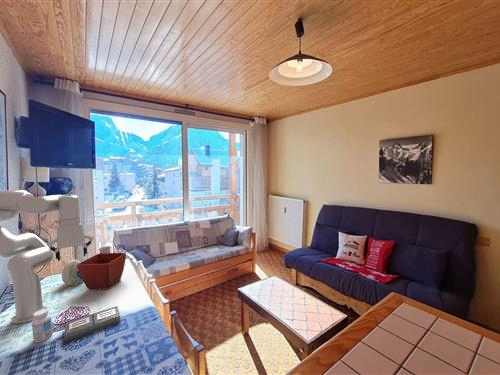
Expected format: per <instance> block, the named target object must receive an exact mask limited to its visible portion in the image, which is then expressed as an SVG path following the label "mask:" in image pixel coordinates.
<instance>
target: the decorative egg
mask: <svg viewBox="0 0 500 375" xmlns="http://www.w3.org/2000/svg"><path fill="white" fill-rule="evenodd" d="M81 262H82V261H80V260H79V259H71V260H69V261H67V262H66V264H65V265H64V266H63V268H62V272H61V280H62V283H63V284H64V285H65V286H68V285H72V286H76V285H75V284H77V285H79V284H81V283H83V280H82V278H81V276H80V273H79V270H78V267H77V264H79V263H81ZM80 282H81V283H80ZM78 283H79V284H78Z"/></svg>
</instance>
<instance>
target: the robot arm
mask: <svg viewBox="0 0 500 375" xmlns="http://www.w3.org/2000/svg"><path fill="white" fill-rule="evenodd" d="M21 212H22V213H25V214H38V215H41V214H46V213H52V212H58V218H59V219H58V220H55V225H56V224H57V225H58V226H57V229H56V238H55V239H53V240H51V241H49V242H48V243H45V242H44V241H43V240H42V239H41V238H40V237H39V236H38V235H36V234H35V233H31V232H23V233H19V234H12V232H10V231H9V230H8V229H7V228H5V227H3V226H2V225H0V257H3V258H10V257H11V258H10V259H9V260H8V262H7V270H8V271H9V275H10V277H11V283H12V290H13V298H14V299H13V300H14V309H15V315H14V316H13V317H12V319H11V323H12V324H19V325H20V324H25V323H28V322H32V321H33V319H34V318H33V314H34V313H35V312H37V311H39V310H42V309H48V307H47V306H45V305H44V304H43V294H42V283H41V277H40V275H39V274H38V273H37V272H36V271H35V269H38V268H40V267H42V266H45V265H47V264H49V263H50V262H51V261H53V258H54V253H55V259H56V260H57V261H58V262H59V261H61V251H60V250H61V249H66V248H72V247H79V246H82V247H83V248H82V249H83V257H86V256H87V254H88V247H89V246H90V245H91V244H92V242H93V240H94V236H91V235H87V234H85V231H84V225H83V223H81V218H80V217H81V216H80V215H81V213H80V198H79V196H77V195H73V194H72V195H71V194H70V195H66V194H52V195H42V196H34V194H33V193H31V192H28V191H26V190H24V189H11V190H10V189H7V190H1V191H0V222H4V221H8V220H12V219H14V218H15V217H17V216H18V215H19V214H20V213H21ZM85 239H87V240H88V241H87V242H85V241H86V240H85ZM55 243H56V247H55V246H53V245H54V244H55ZM53 252H54V253H53Z"/></svg>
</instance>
